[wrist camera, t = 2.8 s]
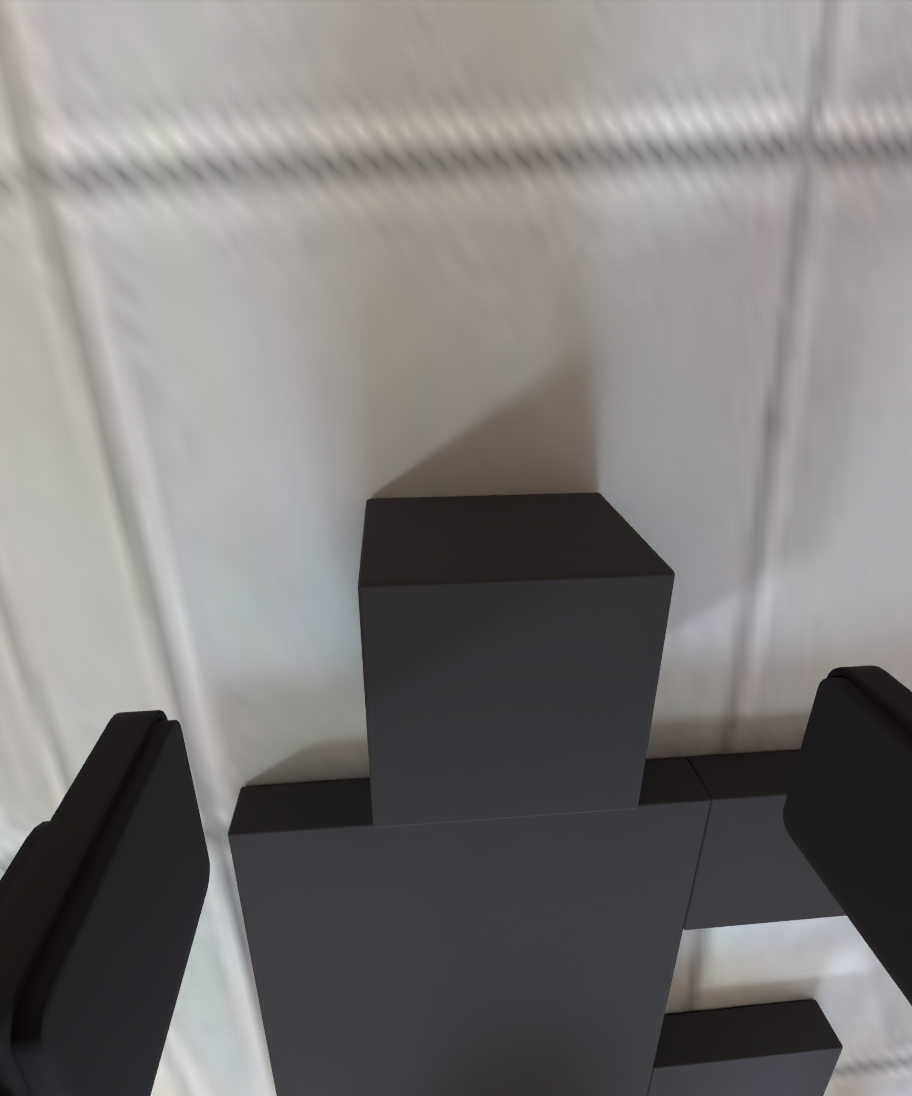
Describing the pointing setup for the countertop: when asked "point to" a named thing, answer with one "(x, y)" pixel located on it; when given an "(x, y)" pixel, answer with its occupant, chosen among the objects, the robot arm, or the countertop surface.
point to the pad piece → (507, 656)
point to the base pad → (524, 941)
